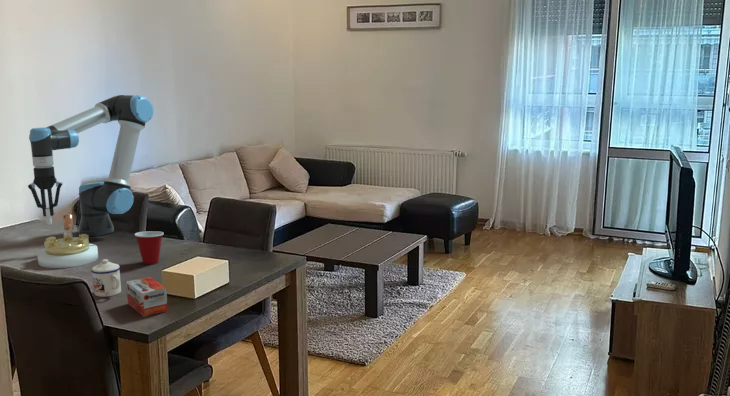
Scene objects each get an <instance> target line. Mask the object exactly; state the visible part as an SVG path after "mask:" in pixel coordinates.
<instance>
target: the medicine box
mask: <svg viewBox="0 0 730 396" xmlns="http://www.w3.org/2000/svg"><path fill="white" fill-rule="evenodd" d="M167 294H168V293H167V287H166V286H164V285H163V284H162V283H161V282H159V281H157V279H154V278H153V277H152V276H147V277H143V278H137V279H132V280H126V295H127V304H128V305H129V306H130V307H131V308H132V309H134V310H135V311H136V312H137V313H139V315H141V317H143V318H144V317H148V316H152V315H153V316H154V315H156V314H161V313H165V312H166V313H167V312H168V311H169V309H168V295H167Z"/></svg>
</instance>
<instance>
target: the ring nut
mask: <svg viewBox="0 0 730 396" xmlns="http://www.w3.org/2000/svg"><path fill="white" fill-rule="evenodd" d="M73 216H74V215H73V213H64V214H62V220H63V230H64V233H63V238H57V237H56V236H49V237H47V238H45V241H44V242H43V243H44V245H43V246H44V248H45V252H46V254H49V255H71V254H77V253H81V252H84V251H86V250H88V249H89V244H90V241H89V239H90V238H89V237H90V236H88V235H87V234H82V235H79V234H78V236H77V237H75V236H74V235H73V230H74V229H75V226H74V225H75V224H74V217H73ZM73 236H74V237H73Z"/></svg>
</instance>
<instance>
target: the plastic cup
mask: <svg viewBox="0 0 730 396" xmlns="http://www.w3.org/2000/svg"><path fill="white" fill-rule="evenodd" d="M134 236H135V237H136V241H137V244H138V248H139V253H140V256H141V259H142V260H141V261H142V263H143V264H144V265H155V264H158V263H159V261H160V254H161V245H162V239H163V236H164V232H163V231H157V230H156V231H155V230H154V231H152V230H151V231H150V230H148V231H138V232H135V233H134Z"/></svg>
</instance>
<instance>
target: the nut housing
mask: <svg viewBox="0 0 730 396" xmlns="http://www.w3.org/2000/svg"><path fill="white" fill-rule="evenodd" d="M98 250H99V249H98V246H97V244H93V243H89V249H88V250H86V251H84V252H81V253H77V254H71V255H49V254H46V252H45V247H44V248H42V249H41V250H39V251H37V262H38V263H37V264H38V266H40V267H42V268H45V269H65V268H66V269H67V268H74V267H75V268H76V267H79V266H85V265H89V264H90V263H93V262H95V261H97V260H98V259H99V251H98Z"/></svg>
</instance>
